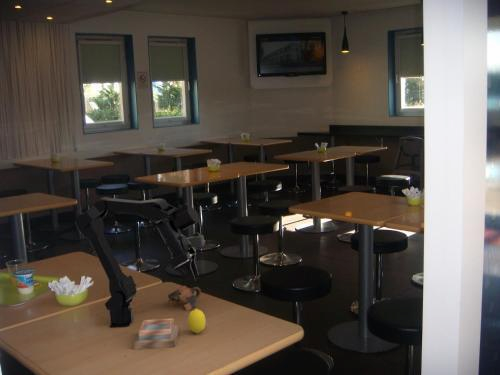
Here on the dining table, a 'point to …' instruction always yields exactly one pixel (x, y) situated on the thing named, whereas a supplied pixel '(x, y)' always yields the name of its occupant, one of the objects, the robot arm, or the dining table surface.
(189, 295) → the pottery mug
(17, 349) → the dining table surface
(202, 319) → the lemon
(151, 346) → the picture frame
